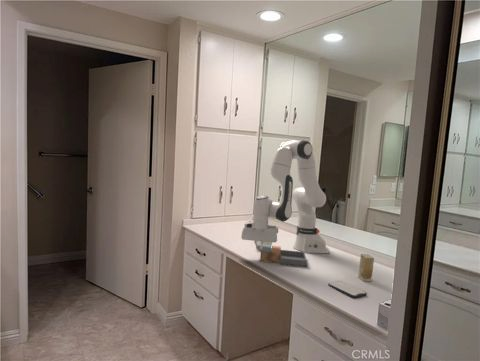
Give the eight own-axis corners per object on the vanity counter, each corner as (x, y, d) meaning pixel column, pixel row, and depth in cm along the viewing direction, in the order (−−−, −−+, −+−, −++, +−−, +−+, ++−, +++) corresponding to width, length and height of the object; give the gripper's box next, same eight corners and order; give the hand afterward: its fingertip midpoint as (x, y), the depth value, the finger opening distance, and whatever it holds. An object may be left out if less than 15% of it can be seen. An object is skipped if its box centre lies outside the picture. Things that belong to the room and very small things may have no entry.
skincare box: (357, 277, 174) (360, 253, 173) (366, 277, 174) (368, 253, 173) (363, 281, 168) (365, 257, 166) (371, 282, 168) (374, 257, 167)
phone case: (326, 286, 160) (353, 299, 146) (327, 283, 160) (354, 296, 146) (340, 284, 165) (367, 296, 151) (340, 280, 164) (368, 293, 151)
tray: (303, 257, 200) (304, 252, 200) (306, 266, 184) (306, 260, 184) (279, 255, 201) (280, 249, 201) (280, 264, 186) (280, 258, 185)
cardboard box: (279, 256, 199) (280, 249, 199) (280, 263, 187) (280, 255, 187) (261, 254, 200) (261, 247, 200) (260, 261, 189) (260, 253, 188)
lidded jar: (258, 251, 207) (259, 236, 206) (252, 246, 217) (253, 231, 217) (274, 251, 210) (275, 236, 209) (268, 246, 220) (269, 231, 220)
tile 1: (280, 250, 196) (280, 246, 195) (280, 253, 191) (280, 248, 190) (271, 249, 196) (271, 245, 196) (271, 252, 191) (271, 248, 191)
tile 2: (270, 249, 196) (271, 245, 196) (270, 252, 191) (271, 248, 191) (262, 249, 197) (262, 244, 196) (261, 251, 192) (262, 247, 191)
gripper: (278, 224, 195) (276, 248, 196) (243, 221, 197) (241, 245, 199) (278, 227, 189) (276, 251, 190) (241, 224, 191) (240, 248, 192)
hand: (258, 248), depth 194 cm, fingers closed
